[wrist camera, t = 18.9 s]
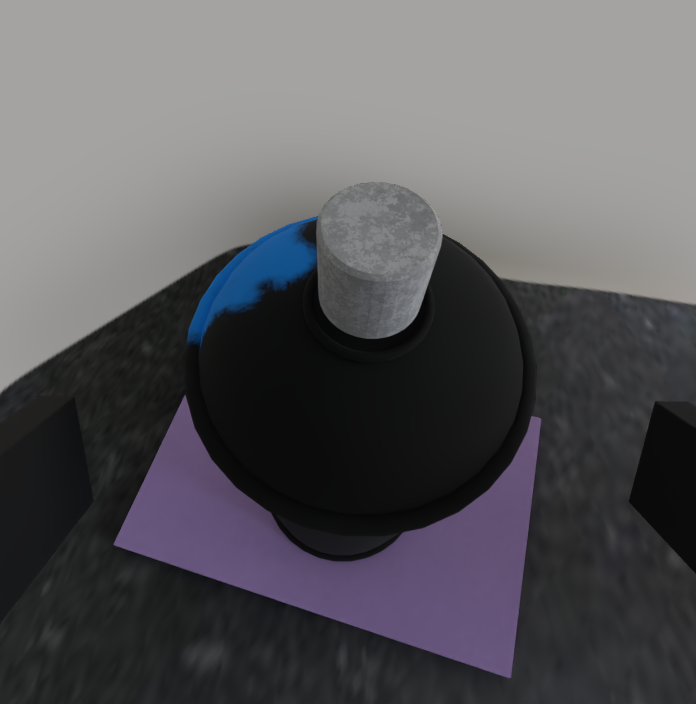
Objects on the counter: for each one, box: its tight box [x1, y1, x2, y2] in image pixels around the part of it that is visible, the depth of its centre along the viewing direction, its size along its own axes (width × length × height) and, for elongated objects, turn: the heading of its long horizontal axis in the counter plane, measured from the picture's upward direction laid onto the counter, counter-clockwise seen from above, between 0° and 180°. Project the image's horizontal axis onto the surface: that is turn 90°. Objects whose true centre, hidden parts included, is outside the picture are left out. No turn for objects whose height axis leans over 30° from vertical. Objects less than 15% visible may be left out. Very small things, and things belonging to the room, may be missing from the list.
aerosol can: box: [184, 182, 537, 562], centre depth 16 cm, size 8×8×20 cm
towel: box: [114, 396, 541, 678], centre depth 25 cm, size 20×13×1 cm, turn 74°
